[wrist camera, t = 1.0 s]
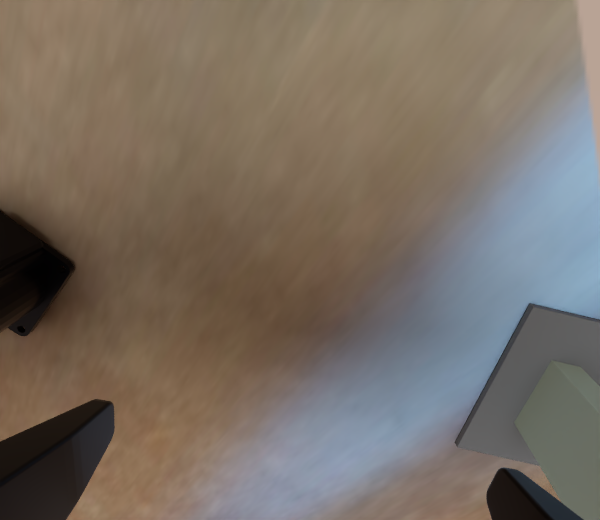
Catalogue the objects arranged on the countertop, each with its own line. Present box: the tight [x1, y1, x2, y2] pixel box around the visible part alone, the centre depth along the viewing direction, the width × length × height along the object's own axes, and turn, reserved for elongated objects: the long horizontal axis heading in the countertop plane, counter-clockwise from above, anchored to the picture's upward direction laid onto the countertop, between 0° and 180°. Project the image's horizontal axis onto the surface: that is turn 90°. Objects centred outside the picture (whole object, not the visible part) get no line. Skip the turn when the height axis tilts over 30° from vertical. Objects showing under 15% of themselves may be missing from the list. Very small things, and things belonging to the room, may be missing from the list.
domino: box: [514, 360, 600, 520], centre depth 19 cm, size 2×5×9 cm, turn 167°
